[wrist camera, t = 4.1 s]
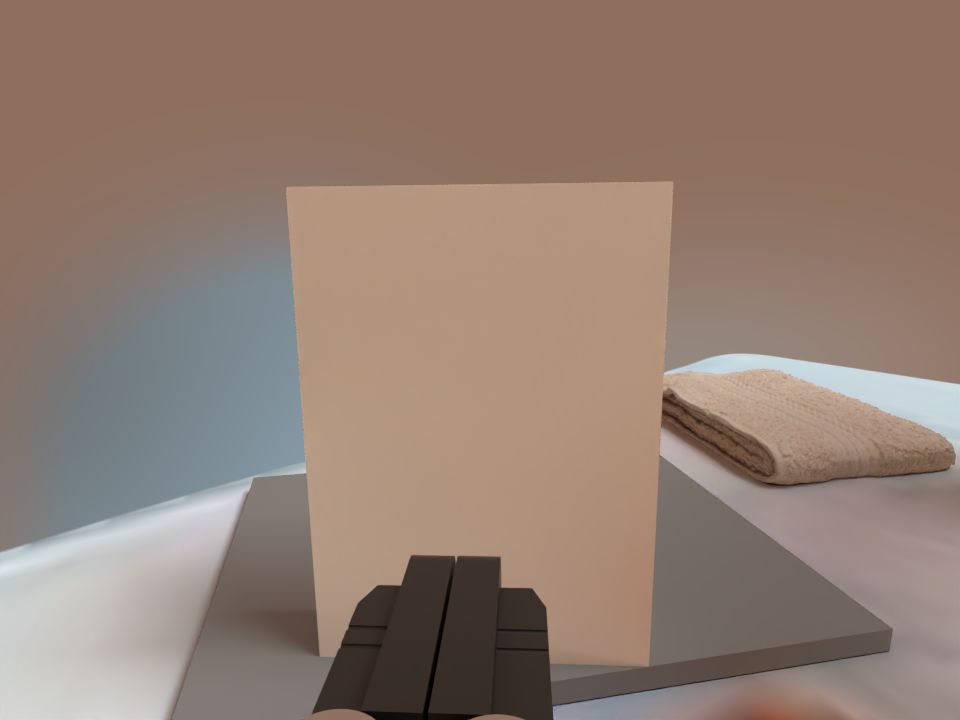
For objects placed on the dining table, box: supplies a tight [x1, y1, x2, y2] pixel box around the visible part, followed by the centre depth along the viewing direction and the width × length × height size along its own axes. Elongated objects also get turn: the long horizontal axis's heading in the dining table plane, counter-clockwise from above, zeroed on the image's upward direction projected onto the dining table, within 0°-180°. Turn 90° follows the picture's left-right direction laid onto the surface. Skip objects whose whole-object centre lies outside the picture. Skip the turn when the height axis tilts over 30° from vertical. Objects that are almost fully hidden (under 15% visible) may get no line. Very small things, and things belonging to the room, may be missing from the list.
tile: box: [286, 182, 673, 667], centre depth 20 cm, size 10×2×14 cm, turn 86°
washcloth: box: [661, 369, 956, 485], centre depth 43 cm, size 12×18×3 cm, turn 11°
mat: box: [171, 456, 892, 720], centre depth 28 cm, size 22×18×1 cm
